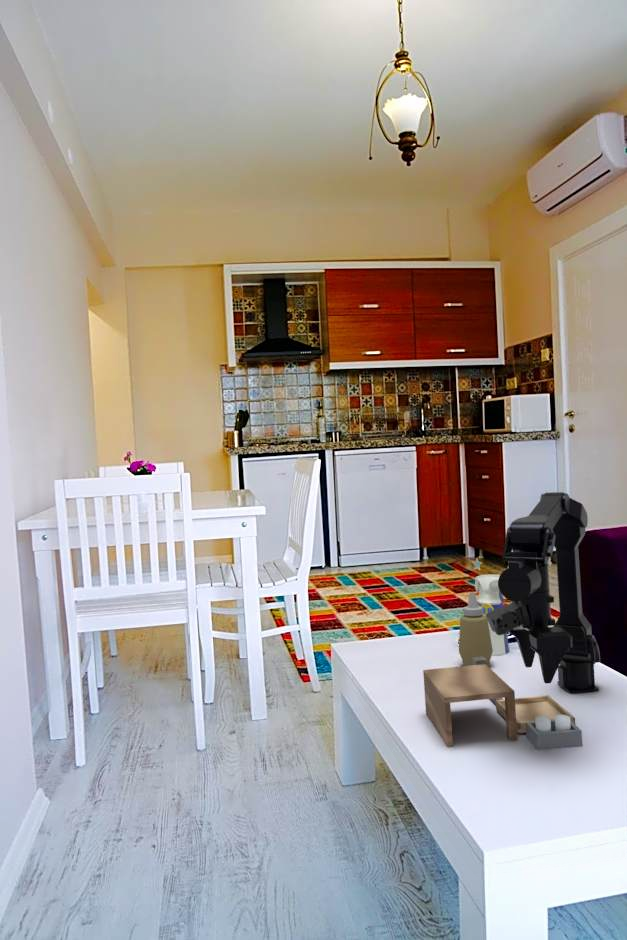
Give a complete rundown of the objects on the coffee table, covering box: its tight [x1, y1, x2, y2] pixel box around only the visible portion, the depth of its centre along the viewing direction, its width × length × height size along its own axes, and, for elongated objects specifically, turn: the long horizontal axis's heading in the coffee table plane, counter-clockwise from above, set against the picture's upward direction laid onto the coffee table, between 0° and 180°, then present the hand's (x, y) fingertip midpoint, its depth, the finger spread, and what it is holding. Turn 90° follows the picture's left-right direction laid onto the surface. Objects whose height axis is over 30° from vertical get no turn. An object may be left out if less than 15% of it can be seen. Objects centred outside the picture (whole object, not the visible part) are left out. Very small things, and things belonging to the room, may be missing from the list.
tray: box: [525, 715, 583, 751], centre depth 123 cm, size 8×6×4 cm
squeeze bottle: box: [458, 591, 493, 667], centre depth 167 cm, size 8×8×18 cm
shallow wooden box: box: [472, 657, 577, 734], centre depth 141 cm, size 11×27×6 cm, turn 5°
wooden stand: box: [422, 664, 518, 748], centre depth 132 cm, size 13×16×9 cm
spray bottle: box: [471, 557, 510, 657], centre depth 177 cm, size 8×9×25 cm
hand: (537, 674), depth 125 cm, fingers open, 9 cm apart
